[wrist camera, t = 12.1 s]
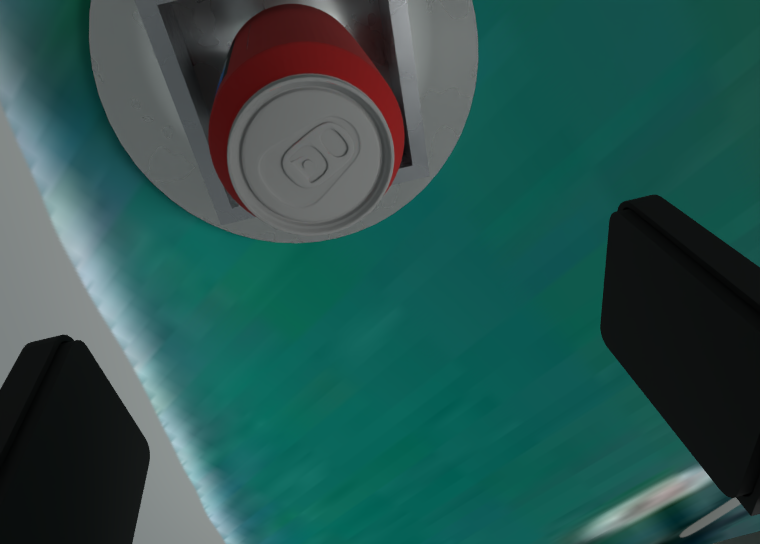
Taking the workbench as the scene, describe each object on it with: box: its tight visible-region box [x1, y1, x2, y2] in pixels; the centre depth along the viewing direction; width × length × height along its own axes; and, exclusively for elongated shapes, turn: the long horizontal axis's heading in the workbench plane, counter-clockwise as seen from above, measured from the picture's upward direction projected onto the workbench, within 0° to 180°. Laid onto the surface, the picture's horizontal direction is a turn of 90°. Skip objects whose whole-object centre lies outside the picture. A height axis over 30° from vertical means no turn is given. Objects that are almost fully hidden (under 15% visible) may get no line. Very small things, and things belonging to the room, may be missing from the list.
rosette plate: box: [89, 0, 478, 243], centre depth 27 cm, size 19×19×4 cm
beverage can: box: [208, 4, 404, 236], centre depth 22 cm, size 7×7×12 cm
